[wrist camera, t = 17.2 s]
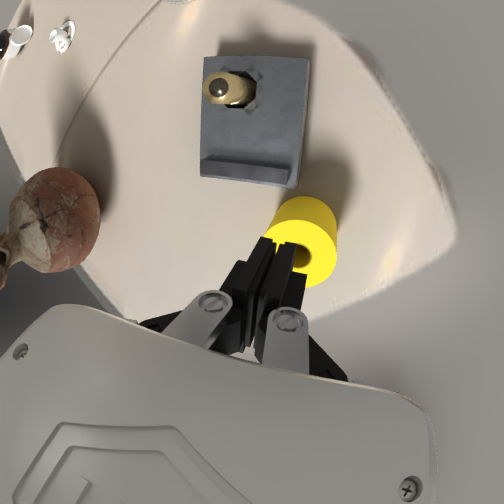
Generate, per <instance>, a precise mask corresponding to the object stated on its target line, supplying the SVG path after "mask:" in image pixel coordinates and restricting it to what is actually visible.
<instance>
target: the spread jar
mask: <svg viewBox="0 0 504 504" xmlns="http://www.w3.org/2000/svg"><path fill="white" fill-rule="evenodd" d="M31 35H32V28H31V27H30V26H28V25H22V26H19V27H18V28H15V29H6V30H3V31H2V32H1V33H0V60H1V59H9V58H13V57H16V56H17V55H18V54H19V53H20V52H21V50H22V49H23V47H24V45H25V43H27V42H28V41H29V39H30V38H31Z"/></svg>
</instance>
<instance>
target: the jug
mask: <svg viewBox="0 0 504 504" xmlns="http://www.w3.org/2000/svg"><path fill="white" fill-rule="evenodd" d="M99 204H100V202H99V199H98V194H97V192H96V191H95V189H94V188H93V186H92V185H90V184H89V182H88V181H87V180H86V179H85V178H84V177H83V176H81V175H80V174H78V173H77V172H75V171H73V170H70V169H67V168H62V167H54V168H48V169H45V170H42V171H40V172H38V173H36V174H35V175H33V176H32V177H31V178H30V179H29V180H28V181H27V182H26V183H25V184H24V185H23V186H22V188H21V189H20V190H19V192H18V193H17V195H16V196H15V197H14V199H13V201H12V202H11V205H10V209H9V216H8V227H7V229H6V231H5V232H4V233H3V234H2V235H1V236H0V289H1V288H3V287H4V286H5V279H6V277H7V275H8V269H9V268H10V266H11V265H12V264H14V263H16V262H18V261H24V262H25V263H26V264H28V265H30V266H31V267H32V268H34V269H36V270H38V271H39V272H43V273H48V272H60V271H64V270H67V269H70V268H73V267H75V266H77V265H78V264H80V263H81V262H83V261H84V260H85V259H86V257H87V256H88V255H89V254H90V252H91V250H92V248H93V246H94V244H95V242H96V239H97V236H98V233H99V228H100V207H99Z"/></svg>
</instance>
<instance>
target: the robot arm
mask: <svg viewBox="0 0 504 504" xmlns="http://www.w3.org/2000/svg"><path fill="white" fill-rule="evenodd" d="M164 1H166V2H168V3H172V4H183V3H189V2H192V1H195V0H164ZM276 247H277V243H276V242H273V239H271V238H266V237H260V239H259V241H258V242H257V244H256V246H255V248H254V249H253V251H252V253H251V255H250V257H249V258H248V260H247V262H246V261H241V260H238V261H237V262H236V263H235V265H234V267H233V268H232V270H231V272H230V273H229V275H228V276H227V278H226V280H225V281H224V283H223V284H222V286H221V288H220V289H219V291H218V290H210V291H205V292H203V293H201V294H199V295H198V296H197V297H196V298H195V299H194V300H193V301H192V302H191V303H190V304H189V305H188V306H187V307H186V308H185V309H184V310H182V311H178V312H174V313H171V314H167V315H163V316H159V317H156V318H152V319H148V320H145V321H142V322H141V323H139V324H138V322H137V320H131V319H125V318H119V317H116V316H114V315H111V314H109V313H106V312H103V311H101V310H98V309H95V308H91V307H88V306H83V305H78V304H62V305H57V306H54V307H52V308H51V309H49V310H48V311H46V312H45V313H44V314H43V315H41V316H40V317H39V318H38V319H37V320H36V321H35V322H33V323H32V324H31V325H30V326H29V327H28V328H27V329H26V330H25V332H23V333H22V334H21V336H20V337H19V338H18V339H17V340H16V341H15V342H14V343H13V344H12V346H11V347H10V348H9V349H8V350H7V351H6V353H5V354H4V355H3V356H2V357H1V359H0V504H435V494H436V483H437V449H436V439H435V434H434V429H433V425H432V421H431V419H430V417H429V415H428V413H427V412H426V410H425V409H424V408H423V407H421V406H420V405H418V404H417V403H416V402H414V401H413V400H411V399H409V398H407V397H405V396H403V395H402V394H400V393H398V392H395V391H391V390H388V389H385V388H382V387H379V386H376V385H373V384H370V383H368V382H365V381H362V380H359V379H355V380H354V381H353V380H350V379H348V378H347V376H346V374H345V373H344V372H343V370H341V368H340V367H339V366H338V365H337V364H336V363H335V362H334V361H333V360H332V359H331V358H330V357H329V356H328V355H327V354H326V352H325V351H324V350H323V349H322V348H321V347H320V346H319V345H318V344H317V343H316V342H315V341H314V340H313V339H312V337H311V336H310V335H309V334H308V320H307V317H306V316H305V314H304V313H302V312H301V311H300V310H301V305H302V300H303V295H304V291H305V286H306V280H307V275H308V274H304V273H299V272H294V271H293V266H294V260H295V254H296V248H297V243H292V242H287V241H285V243H284V244H281V243H280V245H279V247H278V250H277V252H276ZM254 336H255V337H254ZM253 338H254V346H253V347H254V349H255V356H256V358H257V359H258V361H259V362H260V364H259V363H256V362H252V361H247V360H244V359H240V358H237V357H233V356H231V354H233V353H236V352H241V353H243V352H244V349H245V347H246V346H247V347H250V346H251V343H252V341H253Z"/></svg>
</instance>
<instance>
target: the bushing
mask: <svg viewBox="0 0 504 504" xmlns="http://www.w3.org/2000/svg"><path fill="white" fill-rule="evenodd" d="M256 88H257V85H256V83H255V82H253V81H252V80H249V79H246V78H243V77H239V76H236V75H233V74H229V73H226V72H220V71H219V72H214V73H212V74H210V75H209V76H208V77H207V78H206V79H205V81H204V83H203V88H202V90H203V94H204V97H205V98H206V99H207V100H208V101H209V102H211V103H213V104H250V103H251V102H252V101H253V100H254V99H255V98H256Z"/></svg>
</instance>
